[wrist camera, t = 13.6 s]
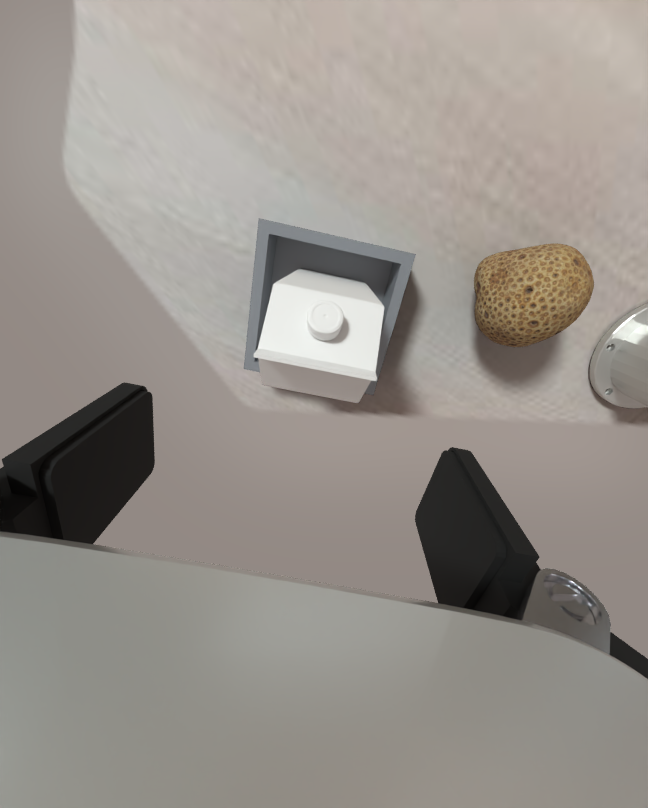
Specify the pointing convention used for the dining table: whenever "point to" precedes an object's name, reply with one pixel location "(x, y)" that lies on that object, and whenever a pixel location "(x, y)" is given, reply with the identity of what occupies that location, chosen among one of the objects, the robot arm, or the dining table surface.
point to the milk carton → (321, 336)
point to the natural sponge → (531, 293)
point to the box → (331, 255)
